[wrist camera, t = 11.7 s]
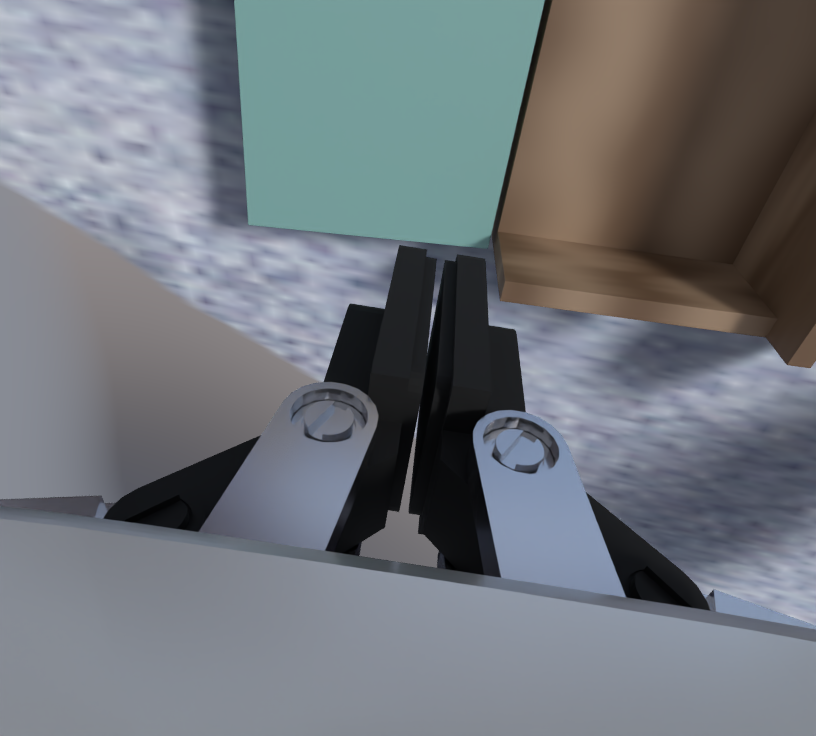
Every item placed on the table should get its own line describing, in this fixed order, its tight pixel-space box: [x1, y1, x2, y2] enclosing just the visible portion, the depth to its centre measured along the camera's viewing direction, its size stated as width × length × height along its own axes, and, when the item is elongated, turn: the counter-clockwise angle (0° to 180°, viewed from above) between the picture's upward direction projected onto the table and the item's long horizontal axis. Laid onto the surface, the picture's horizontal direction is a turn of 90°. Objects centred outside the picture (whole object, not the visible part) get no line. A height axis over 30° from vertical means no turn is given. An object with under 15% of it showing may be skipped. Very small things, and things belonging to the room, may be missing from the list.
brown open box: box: [492, 0, 816, 368], centre depth 21 cm, size 13×18×10 cm
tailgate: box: [234, 0, 545, 249], centre depth 23 cm, size 1×18×12 cm
